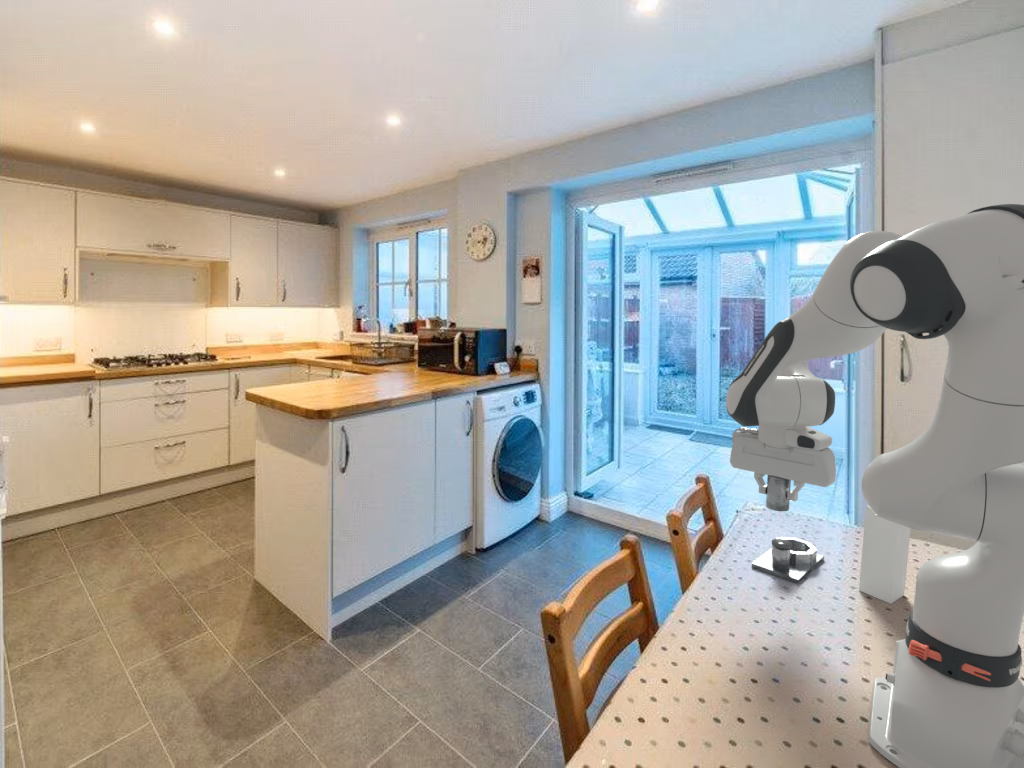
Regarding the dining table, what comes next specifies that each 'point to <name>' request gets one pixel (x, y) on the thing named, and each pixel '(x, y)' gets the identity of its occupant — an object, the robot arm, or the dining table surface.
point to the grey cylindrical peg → (777, 493)
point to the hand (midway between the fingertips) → (777, 496)
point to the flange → (789, 559)
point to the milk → (884, 558)
